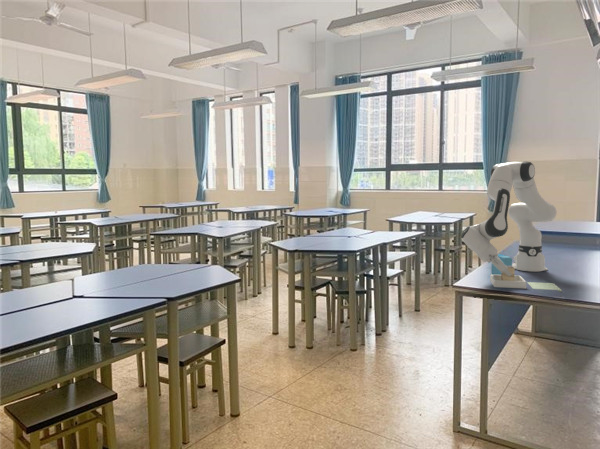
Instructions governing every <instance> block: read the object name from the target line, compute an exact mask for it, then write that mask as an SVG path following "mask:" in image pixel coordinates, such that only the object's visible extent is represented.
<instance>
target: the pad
mask: <svg viewBox="0 0 600 449" xmlns="http://www.w3.org/2000/svg"><path fill="white" fill-rule="evenodd" d="M526 284H528V285H529V286H530V287H531V289H533V290H545V291H546V290H548V291H549V290H550V291H557V292H559V293H560V292H561V293H562V292H563V290H562V289H561V288H560V287H559V286H558V285H556V284H555V283H554V282H553V283H551V282H533V281H529V282H528V281H526Z"/></svg>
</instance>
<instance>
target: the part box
mask: <svg viewBox="0 0 600 449" xmlns="http://www.w3.org/2000/svg"><path fill="white" fill-rule="evenodd" d="M507 268H508V271H509V272H510V273H511V274H512V275H511V276H508V275H507V274H506V273H504V272H503V273H501V280H507V281H514V275H515V270H516V269H515V268H514V267H513V266H507Z"/></svg>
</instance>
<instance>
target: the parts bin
mask: <svg viewBox="0 0 600 449" xmlns="http://www.w3.org/2000/svg"><path fill="white" fill-rule="evenodd" d="M489 276H490V278H489V280H490V283H491V284H492V286H493V287H494V288H506V289H507V288H509V289H527V281H526V280H525V279H524V277H522V276H521V275H515V274H514V281H507V280H501V275H493V274H492V273H491V274H490V275H489Z"/></svg>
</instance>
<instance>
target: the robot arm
mask: <svg viewBox="0 0 600 449" xmlns="http://www.w3.org/2000/svg"><path fill="white" fill-rule="evenodd" d="M535 174H536V168H535V164H534V163H532V162H531V161H527V160H525V161H510V162H503V163H497V164H494V165H493V166H492V167H491V170H490V179H489V180H488V181H489V182H488V185H487V189H486V191H487V192H486V193H487V196H488V198H489V199H490V200H493V201H494V206H493V212H492V215H491V216H490V217H489V218H488V219H486V220H484V221H482V222H480V223H477V224H475V225H468V226H467V227H466V228H464V229H463V230H462V232H461V235H460V238H461V240H462V241H463V243H464V244H465V245H466V246H467V248H468V249H470V250H471V251H473V252H474V253H475V254H476V256H477V257H478V258H479V259H480V260H481V261H482V262H483V263H486V262H487V263H488V264H490V263H491V265H492V264H493V265H494V266H495V267H496V268H497V269H498V270H499V271H500V272H502V273H503V272H504V273H506V274H507V275H508V276H511V275H512V274H511V273H510V272H509V271H508V268H507V266H506V265H505V264H504V263H503V262H502V261H501V260H500V258H499V257H498V254H499V253H498V252H499V250H498V249H497V248H496V246H494V245H493V244H492V243H491V240H493V239H495V238H499V237H503V236H504V235H505V234H507V232H508V230H509V223H508V216H509V218H510V219H511V220H512V221H513V222H514V223H515V224H516V226H517V228H518V231H519V245H518V252H517V254H515V256H513V259H512V261H514V262H512V266H513V267H514V268H515V270H518V271H523V272H543V271H544V272H545V271H548V267H546V259H545V255H544V254H543V253H542V252H543V246H542V238H543V237H542V236H543V235H542V232H541V230H540V229H539V228H536V227H535V226H534V224H533V223H546V222H548V223H549V222H553V220H554V219H555V218H556V216H557V208H556V207H555V205H554V204H552V203H550V202H548V201H547V200H545V198H543V197H542V196H541V195H540V193H539V191H538V188H537V185H536V181H535ZM512 188H513V191H514V194H515V195H514V196H515V198H516V199H517V200H519V202H516V203H511V205H510V199H511V190H512Z"/></svg>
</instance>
